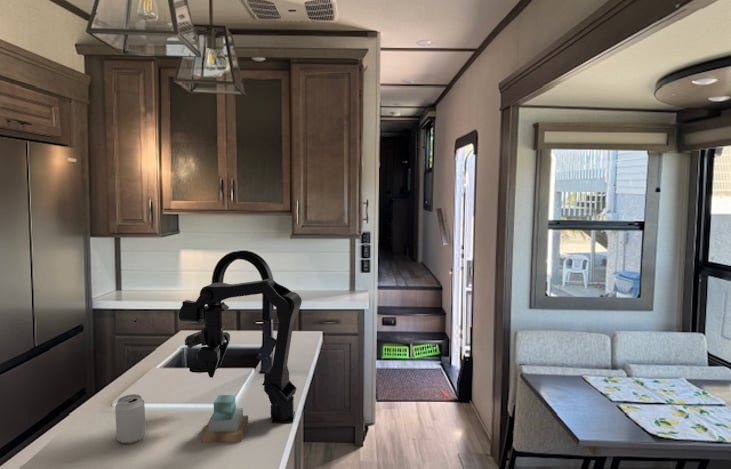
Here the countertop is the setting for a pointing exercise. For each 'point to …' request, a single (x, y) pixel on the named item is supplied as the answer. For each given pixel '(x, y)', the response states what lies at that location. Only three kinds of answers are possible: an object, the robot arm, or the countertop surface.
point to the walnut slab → (225, 433)
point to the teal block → (224, 407)
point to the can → (130, 419)
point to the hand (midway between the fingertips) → (215, 371)
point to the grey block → (226, 422)
